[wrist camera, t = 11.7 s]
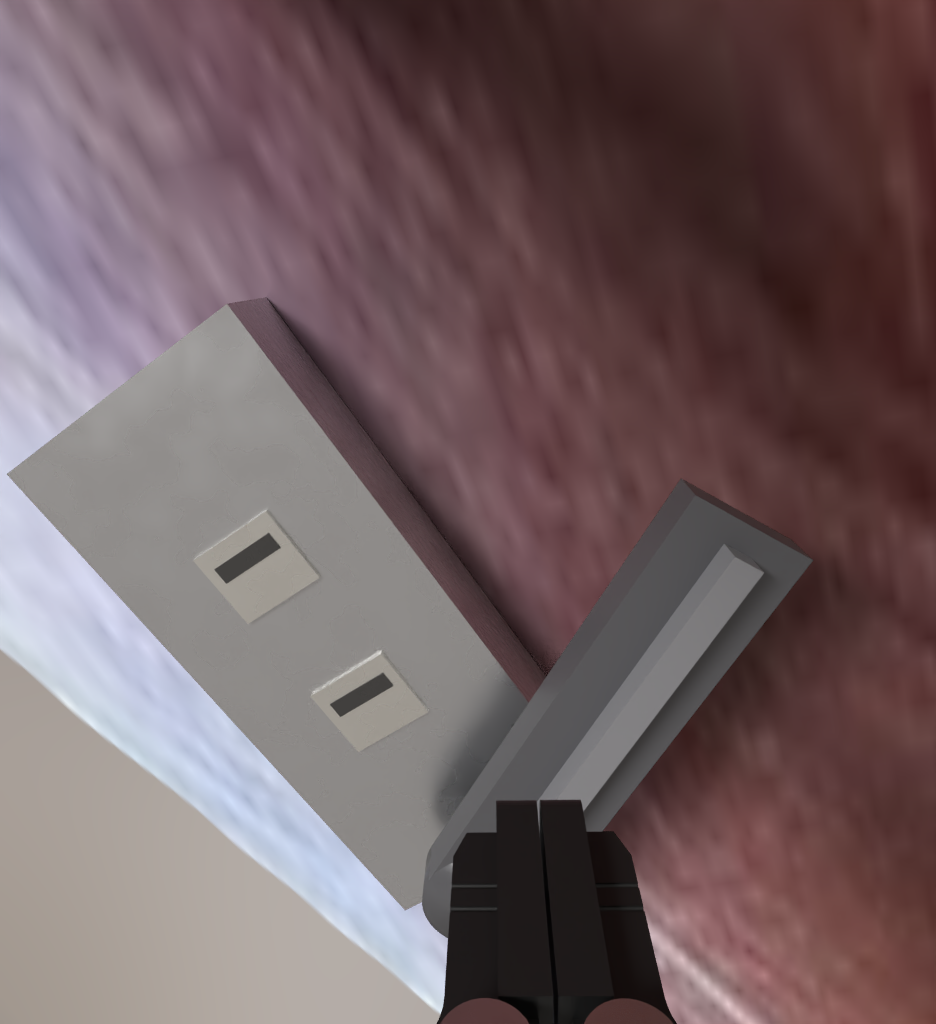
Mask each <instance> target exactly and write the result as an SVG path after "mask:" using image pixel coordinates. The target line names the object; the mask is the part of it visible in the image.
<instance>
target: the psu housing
mask: <svg viewBox="0 0 936 1024" xmlns="http://www.w3.org/2000/svg"><path fill="white" fill-rule="evenodd" d="M7 475H8V476H9V477H10V478H11V479H12V480H13V482H14V483H15V484H16V485H17V486H18V487H19V488H20V489H21V490H22V491H23V492H24V494H25V495H26V496H27V497H28V498H29V499H30V500H31V501H32V502H33V503H34V505H35V506H36V507H37V508H38V509H39V510H40V511H41V512H42V513H43V514H44V515H45V517H46V518H47V519H48V520H49V521H50V522H51V523H52V524H53V525H54V526H55V527H56V529H57V530H58V531H59V532H60V533H61V534H62V535H63V536H64V537H65V538H66V540H67V541H68V542H69V543H70V544H71V545H72V546H73V547H74V548H75V549H76V550H77V552H78V553H79V554H80V555H81V556H82V557H83V558H84V559H85V560H86V561H87V563H88V564H89V565H90V566H91V567H92V568H93V569H94V570H95V571H96V572H97V573H98V575H99V576H100V577H101V578H102V579H103V580H104V581H105V582H106V583H107V584H108V586H109V587H110V588H111V589H112V590H113V591H114V592H115V593H116V594H117V595H118V596H119V598H120V599H121V600H122V601H123V602H124V603H125V604H126V605H127V606H128V607H129V608H130V610H131V611H132V612H133V613H134V614H135V615H136V616H137V617H138V618H139V619H140V621H141V622H142V623H143V624H144V625H145V626H146V627H147V628H148V629H149V630H150V631H151V633H152V634H153V635H154V636H155V637H156V638H157V639H158V640H159V641H160V642H161V644H162V645H163V646H164V647H165V648H166V649H167V650H168V651H169V652H170V653H171V654H172V656H173V657H174V658H175V659H176V660H177V661H178V662H179V663H180V664H181V665H182V666H183V668H184V669H185V670H186V671H187V672H188V673H189V674H190V675H191V676H192V677H193V679H194V680H195V681H196V682H197V683H198V684H199V685H200V686H201V687H202V688H203V689H204V691H205V692H206V693H207V694H208V695H209V696H210V697H211V698H212V699H213V700H214V702H215V703H216V704H217V705H218V706H219V707H220V708H221V709H222V710H223V711H224V712H225V714H226V715H227V716H228V717H229V718H230V719H231V720H232V721H233V722H234V723H235V725H236V726H237V727H238V728H239V729H240V730H241V731H242V732H243V733H244V734H245V735H246V737H247V738H248V739H249V740H250V741H251V742H252V743H253V744H254V745H255V746H256V747H257V749H258V750H259V751H260V752H261V753H262V754H263V755H264V756H265V757H266V758H267V760H268V761H269V762H270V763H271V764H272V765H273V766H274V767H275V768H276V769H277V770H278V772H279V773H280V774H281V775H282V776H283V777H284V778H285V779H286V780H287V781H288V783H289V784H290V785H291V786H292V787H293V788H294V789H295V790H296V791H297V792H298V793H299V795H300V796H301V797H302V798H303V799H304V800H305V801H306V802H307V803H308V804H309V805H310V807H311V808H312V809H313V810H314V811H315V812H316V813H317V814H318V815H319V816H320V818H321V819H322V820H323V821H324V822H325V823H326V824H327V825H328V826H329V827H330V828H331V830H332V831H333V832H334V833H335V834H336V835H337V836H338V837H339V838H340V839H341V841H342V842H343V843H344V844H345V845H346V846H347V847H348V848H349V849H350V850H351V851H352V853H353V854H354V855H355V856H356V857H357V858H358V859H359V860H360V861H361V862H362V864H363V865H364V866H365V867H366V868H367V869H368V870H369V871H370V872H371V873H372V874H373V876H374V877H375V878H376V879H377V880H378V881H379V882H380V883H381V884H382V885H383V886H384V888H385V889H386V890H387V891H388V892H389V893H390V894H391V895H392V896H393V897H394V899H395V900H396V901H397V902H398V903H399V904H400V905H401V906H402V907H403V908H404V909H405V910H407V909H409V908H411V907H413V906H415V905H417V904H419V903H421V902H422V895H423V886H424V876H425V867H426V859H427V855H428V852H429V850H430V848H431V846H432V845H433V843H434V842H435V840H436V839H437V837H438V836H439V834H440V833H441V831H442V830H443V828H444V827H445V825H446V824H447V822H448V821H449V820H450V818H451V817H452V815H453V814H454V812H455V811H456V809H457V808H458V806H459V805H460V803H461V802H462V800H463V799H464V797H465V796H466V794H467V793H468V792H469V790H470V789H471V787H472V786H473V784H474V783H475V781H476V780H477V778H478V777H479V775H480V774H481V772H482V771H483V769H484V768H485V766H486V765H487V764H488V762H489V761H490V759H491V758H492V756H493V755H494V753H495V752H496V750H497V749H498V747H499V746H500V744H501V743H502V741H503V740H504V739H505V737H506V736H507V734H508V733H509V731H510V730H511V728H512V727H513V725H514V724H515V722H516V721H517V719H518V718H519V716H520V715H521V713H522V712H523V711H524V709H525V708H526V706H527V705H528V703H529V702H530V700H531V699H532V697H533V696H534V694H535V693H536V691H537V690H538V688H539V687H540V685H541V684H542V683H543V681H544V680H545V678H546V676H545V675H544V673H543V672H542V671H541V669H540V668H539V666H538V665H537V664H536V662H535V661H534V660H533V658H532V657H531V656H530V654H529V653H528V652H527V650H526V649H525V648H524V646H523V645H522V643H521V642H520V641H519V639H518V638H517V637H516V635H515V634H514V633H513V631H512V630H511V629H510V627H509V626H508V624H507V623H506V622H505V620H504V619H503V618H502V616H501V615H500V614H499V612H498V611H497V610H496V608H495V607H494V605H493V604H492V603H491V601H490V600H489V599H488V597H487V596H486V595H485V593H484V592H483V591H482V589H481V588H480V587H479V585H478V584H477V582H476V581H475V580H474V578H473V577H472V576H471V574H470V573H469V572H468V570H467V569H466V568H465V566H464V565H463V563H462V562H461V561H460V559H459V558H458V557H457V555H456V554H455V553H454V551H453V550H452V549H451V547H450V546H449V544H448V543H447V542H446V540H445V539H444V538H443V536H442V535H441V534H440V532H439V531H438V530H437V528H436V527H435V526H434V524H433V523H432V521H431V520H430V519H429V517H428V516H427V515H426V513H425V512H424V511H423V509H422V508H421V507H420V505H419V504H418V502H417V501H416V500H415V498H414V497H413V496H412V494H411V493H410V492H409V490H408V489H407V488H406V486H405V485H404V484H403V482H402V481H401V479H400V478H399V477H398V475H397V474H396V473H395V471H394V470H393V469H392V467H391V466H390V465H389V463H388V462H387V460H386V459H385V458H384V456H383V455H382V454H381V452H380V451H379V450H378V448H377V447H376V446H375V444H374V443H373V441H372V440H371V439H370V437H369V436H368V435H367V433H366V432H365V431H364V429H363V428H362V427H361V425H360V424H359V423H358V421H357V420H356V418H355V417H354V416H353V414H352V413H351V412H350V410H349V409H348V408H347V406H346V405H345V404H344V402H343V401H342V399H341V398H340V397H339V395H338V394H337V393H336V391H335V390H334V389H333V387H332V386H331V385H330V383H329V382H328V380H327V379H326V378H325V376H324V375H323V374H322V372H321V371H320V370H319V368H318V367H317V366H316V364H315V363H314V362H313V360H312V359H311V357H310V356H309V355H308V353H307V352H306V351H305V349H304V348H303V347H302V345H301V344H300V343H299V341H298V340H297V338H296V337H295V336H294V334H293V333H292V332H291V330H290V329H289V328H288V326H287V325H286V324H285V322H284V321H283V319H282V318H281V317H280V315H279V314H278V313H277V311H276V310H275V309H274V307H273V306H272V305H271V303H270V302H269V301H268V299H267V298H266V297H264V298H258V299H253V300H247V301H241V302H235V303H229V304H226V305H225V306H224V307H222V308H221V309H220V310H218V311H217V312H216V313H215V314H213V315H212V316H211V317H209V318H208V319H207V320H206V321H204V322H203V323H202V324H200V325H199V326H198V327H197V328H195V329H194V330H193V331H191V332H190V333H189V334H187V335H186V336H185V337H184V338H182V339H181V340H180V341H178V342H177V343H176V344H175V345H173V346H172V347H171V348H169V349H168V350H167V351H165V352H164V353H163V354H162V355H160V356H159V357H158V358H156V359H155V360H154V361H153V362H151V363H150V364H149V365H147V366H146V367H145V368H143V369H142V370H141V371H140V372H138V373H137V374H136V375H134V376H133V377H132V378H131V379H129V380H128V381H127V382H125V383H124V384H123V385H122V386H120V387H119V388H118V389H116V390H115V391H114V392H112V393H111V394H110V395H109V396H107V397H106V398H105V399H103V400H102V401H101V402H100V403H98V404H97V405H96V406H94V407H93V408H92V409H90V410H89V411H88V412H87V413H85V414H84V415H83V416H81V417H80V418H79V419H78V420H76V421H75V422H74V423H72V424H71V425H70V426H69V427H67V428H66V429H65V430H63V431H62V432H61V433H59V434H58V435H57V436H56V437H54V438H53V439H52V440H50V441H49V442H48V443H47V444H45V445H44V446H43V447H41V448H40V449H39V450H37V451H36V452H35V453H34V454H32V455H31V456H30V457H28V458H27V459H26V460H25V461H23V462H22V463H21V464H19V465H18V466H17V467H15V468H14V469H13V470H12V471H10V472H9V473H8V474H7Z"/></svg>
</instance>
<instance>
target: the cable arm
mask: <svg viewBox="0 0 936 1024" xmlns="http://www.w3.org/2000/svg"><path fill="white" fill-rule="evenodd" d="M812 561H813V560H812V559H811V558H810V557H809V556H808V555H807V554H806V553H805V552H804V551H803V550H802V549H800V548H799V547H798V546H797V545H796V544H795V543H794V542H793V541H792V540H791V539H789V538H787V537H785V536H784V535H782V534H780V533H778V532H776V531H775V530H773V529H771V528H769V527H767V526H766V525H764V524H762V523H760V522H758V521H757V520H755V519H753V518H751V517H749V516H748V515H746V514H744V513H742V512H740V511H739V510H737V509H735V508H733V507H731V506H730V505H728V504H726V503H724V502H723V501H721V500H719V499H717V498H715V497H714V496H712V495H710V494H708V493H706V492H705V491H703V490H701V489H699V488H697V487H696V486H694V485H692V484H690V483H688V482H687V481H685V480H683V479H680V481H679V482H678V484H677V485H676V487H675V488H674V490H673V491H672V493H671V494H670V495H669V497H668V498H667V500H666V501H665V503H664V504H663V506H662V507H661V509H660V510H659V512H658V513H657V515H656V516H655V518H654V519H653V521H652V522H651V523H650V525H649V526H648V528H647V529H646V531H645V532H644V534H643V535H642V537H641V538H640V540H639V541H638V543H637V544H636V546H635V547H634V549H633V550H632V551H631V553H630V554H629V556H628V557H627V559H626V560H625V562H624V563H623V565H622V566H621V568H620V569H619V571H618V572H617V574H616V575H615V576H614V578H613V579H612V581H611V582H610V584H609V585H608V587H607V588H606V590H605V591H604V593H603V594H602V596H601V597H600V599H599V600H598V602H597V603H596V604H595V606H594V607H593V609H592V610H591V612H590V613H589V615H588V616H587V618H586V619H585V621H584V622H583V624H582V625H581V627H580V628H579V630H578V631H577V632H576V634H575V635H574V637H573V638H572V640H571V641H570V643H569V644H568V646H567V647H566V649H565V650H564V652H563V653H562V655H561V656H560V657H559V659H558V660H557V662H556V663H555V665H554V666H553V668H552V669H551V671H550V672H549V674H548V675H547V677H546V678H545V680H544V681H543V683H542V684H541V685H540V687H539V688H538V690H537V691H536V693H535V694H534V696H533V697H532V699H531V700H530V702H529V703H528V705H527V706H526V708H525V709H524V711H523V712H522V713H521V715H520V716H519V718H518V719H517V721H516V722H515V724H514V725H513V727H512V728H511V730H510V731H509V733H508V734H507V736H506V737H505V739H504V740H503V741H502V743H501V744H500V746H499V747H498V749H497V750H496V752H495V753H494V755H493V756H492V758H491V759H490V761H489V762H488V764H487V765H486V766H485V768H484V769H483V771H482V772H481V774H480V775H479V777H478V778H477V780H476V781H475V783H474V784H473V786H472V787H471V789H470V790H469V792H468V793H467V794H466V796H465V797H464V799H463V800H462V802H461V803H460V805H459V806H458V808H457V809H456V811H455V812H454V814H453V815H452V817H451V818H450V820H449V821H448V822H447V824H446V825H445V827H444V828H443V830H442V831H441V833H440V834H439V836H438V837H437V839H436V840H435V842H434V843H433V845H432V846H431V848H430V850H429V852H428V855H427V859H426V867H425V876H424V886H423V895H422V906H423V910H424V913H425V916H426V918H427V920H428V921H429V922H430V924H431V925H432V926H433V927H434V928H435V929H436V930H437V931H438V932H439V933H441V934H442V935H444V936H445V937H447V938H448V933H449V916H450V900H451V889H452V868H453V856H454V854H455V852H456V851H457V849H458V847H459V845H460V843H461V842H462V840H463V838H464V836H465V835H466V833H474V832H496V800H536V801H537V809H538V821H539V803H540V800H581V802H582V807H583V813H584V819H585V825H586V831H587V832H602V831H603V830H604V828H605V827H606V826H607V825H608V823H609V822H610V821H611V819H612V818H613V817H614V816H615V814H616V813H617V812H618V810H619V809H620V808H621V807H622V805H623V804H624V803H625V801H626V800H627V799H628V798H629V796H630V795H631V794H632V792H633V791H634V790H635V789H636V787H637V786H638V785H639V783H640V782H641V781H642V780H643V778H644V777H645V776H646V774H647V773H648V772H649V771H650V769H651V768H652V767H653V765H654V764H655V763H656V762H657V760H658V759H659V758H660V756H661V755H662V754H663V753H664V751H665V750H666V749H667V747H668V746H669V745H670V744H671V742H672V741H673V740H674V738H675V737H676V736H677V735H678V733H679V732H680V731H681V729H682V728H683V727H684V726H685V724H686V723H687V722H688V720H689V719H690V718H691V717H692V715H693V714H694V713H695V711H696V710H697V709H698V708H699V706H700V705H701V704H702V702H703V701H704V700H705V699H706V697H707V696H708V695H709V693H710V692H711V691H712V690H713V688H714V687H715V686H716V684H717V683H718V682H719V681H720V679H721V678H722V677H723V675H724V674H725V673H726V672H727V670H728V669H729V668H730V666H731V665H732V664H733V663H734V661H735V660H736V659H737V657H738V656H739V655H740V654H741V652H742V651H743V650H744V648H745V647H746V646H747V645H748V643H749V642H750V641H751V639H752V638H753V637H754V636H755V634H756V633H757V632H758V630H759V629H760V628H761V627H762V625H763V624H764V623H765V621H766V620H767V619H768V618H769V616H770V615H771V614H772V612H773V611H774V610H775V609H776V607H777V606H778V605H779V603H780V602H781V601H782V600H783V598H784V597H785V596H786V595H787V593H788V592H789V591H790V589H791V588H792V587H793V586H794V584H795V583H796V582H797V580H798V579H799V578H800V577H801V575H802V574H803V573H804V571H805V570H806V569H807V568H808V566H809V565H810V564H811V562H812Z"/></svg>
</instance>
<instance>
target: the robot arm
mask: <svg viewBox="0 0 936 1024" xmlns="http://www.w3.org/2000/svg"><path fill="white" fill-rule="evenodd" d="M437 1024H677V1023H676V1022H675V1020H674V1018H673V1017H672V1015H671V1013H670V1011H669V1009H668V1006H667V1003H666V1000H665V997H664V993H663V988H662V984H661V980H660V975H659V971H658V967H657V963H656V958H655V954H654V950H653V946H652V941H651V937H650V933H649V929H648V924H647V920H646V916H645V912H644V911H643V903H642V899H641V895H640V890H639V888H638V882H637V878H636V873H635V869H634V865H633V861H632V856H631V854H630V853H629V852H628V850H627V849H626V848H625V846H624V845H623V844H622V842H621V841H620V840H619V838H618V837H617V836H616V834H615V833H614V832H613V831H602V832H587V831H586V825H585V819H584V813H583V807H582V802H581V800H540V803H539V821H538V809H537V801H536V800H496V832H474V833H466V835H465V836H464V838H463V840H462V842H461V843H460V845H459V847H458V849H457V851H456V852H455V854H454V856H453V868H452V889H451V900H450V916H449V933H448V949H447V965H446V981H445V997H444V1004H443V1009H442V1012H441V1015H440V1018H439V1020H438V1022H437Z"/></svg>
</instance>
